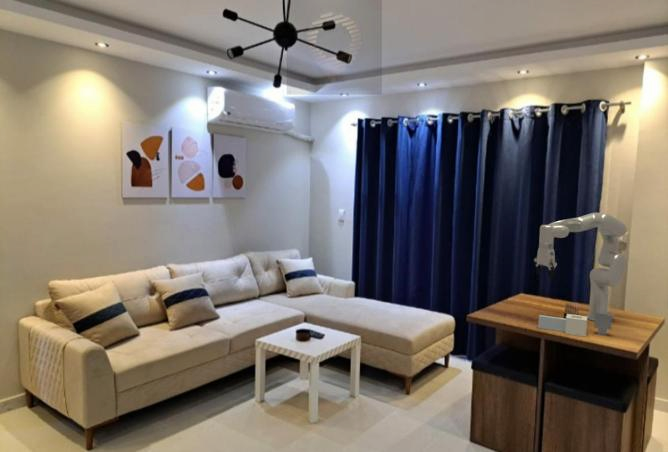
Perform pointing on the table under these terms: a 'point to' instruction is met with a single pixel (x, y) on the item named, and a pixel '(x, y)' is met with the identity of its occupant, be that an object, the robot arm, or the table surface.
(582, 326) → the headboard post
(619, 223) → the robot arm
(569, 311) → the ammunition clip
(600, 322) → the steel bracket
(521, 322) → the table surface
